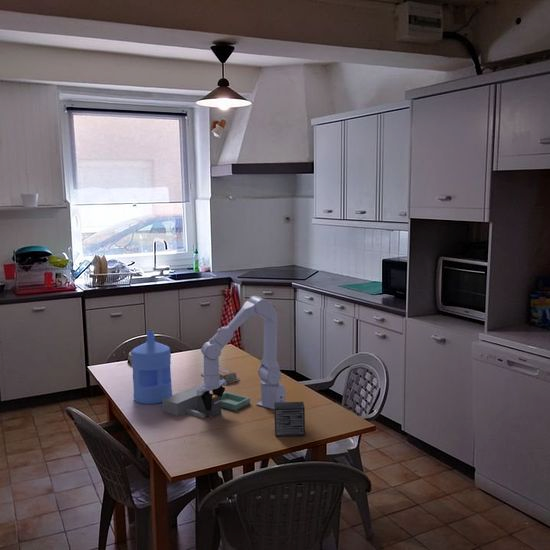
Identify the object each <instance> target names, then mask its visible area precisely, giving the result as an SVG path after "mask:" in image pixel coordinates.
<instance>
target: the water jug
mask: <svg viewBox="0 0 550 550" xmlns="http://www.w3.org/2000/svg"><path fill="white" fill-rule="evenodd" d="M131 351H132V365H133V366H132V381H133V386H132V387H133V400H134V401H135V402H136V403H139V404H142V405H143V404H144V405H156V404H161V403H162V404H163V399H164V398H167V397H170V396H172V395H173V389H172V374H171V373H172V372H171V365H172V363H171V357H172V355H171V354H172V353H171V348H170V346H168V345H166V344H165V343H164V344H163V343H160V342H157V341H156V340H155V331H153V330H151V331H146V342H144V343H142V344H140V345H138V346H136V347H134V348H133V349H132V350H131Z"/></svg>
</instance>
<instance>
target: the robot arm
mask: <svg viewBox="0 0 550 550" xmlns="http://www.w3.org/2000/svg"><path fill="white" fill-rule="evenodd" d="M273 305H274V304H273V303H272V302H271V301H270V300H268V299H266V298H264V297H263V298H262V297H261V296H259V295H252V296H250V297H249V298H248V300H246V301H245V302H244V303H243V305H242V306H241V308H240V309H239V311H238V312H237V313H236V315H234V317H233V318H232V319H231V320H230V322H229V323H228V324H227V325H226V326H221V328H220V327H218V329H217V330H216V333H215V334H214V335H213V336H212V337H211V338H209V339H208V341H206V342H204V343H203V344H202V347H201V349H200V352H201V354H202V355H203V373H204V377H203V381H204V382H203V383H202V385H201V386H200V387H199V389H197V395H200V397H201V398H202V400H203V403H204V406H205V410H208V411H210V410H211V400H212V396H213V394H214V395H218V396H221V398H222V395H223V393H225V392H226V387H224V386H226V385H227V384H226V380H224V379H222V380H219V366H220V362H219V361H220V360H219V358H220V356H221V354H222V350H223V349H224V348H225V346H227V345H228V343H229V342H230V341H231V340H232V339H233V338H234V332H235V331H237V329H238V328H239V327H240V326H241V325H242V324H243V323H245V321H247V320H248V319H249V318H255V317H258V315H259V316H260V318H262V319H263V347H262V348H263V350H262V351H263V352H262V353H263V355H262V359H261V361H260V365H259V367H258V371H257V374H258V377H260V401H259V402H256V405H257V406H259V407H260V406H261V407H264V408H266V409H267V408H268V409H271V410H274V403H276V402H286V387H285V386H284V385H282V384H281V383H280V382H281V380H282V372H281V370H280V369H281V368H280V363H279V362H278V359H277V358H278V355H277V353H278V329H279V327H278V323H279V321H278V320H279V319H278V318H279V317H278V313H277V311H276V309H275V307H274V306H273ZM209 391H211V392H212V393H211V394H210V392H209Z"/></svg>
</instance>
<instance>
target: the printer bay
mask: <svg viewBox="0 0 550 550" xmlns="http://www.w3.org/2000/svg"><path fill="white" fill-rule="evenodd" d="M199 388H200V387H199V386H193V387H190V388H187V389H185V390H182V391H179V392H177V393H175V394H172V396H170V397H167V398H164V399H163V402H162V412H163V411H164V412H163V413H166V412H167V413H166V414H169V413H170V415H172V414H173V416H176V417H178V416H181V415H183V414H189V415H191V416H194V417H198V418H202V419H205V418H206V416H207V415H205V413H202V412H199V411H198V410H196V408H197V409H198V399H197V389H199ZM209 392H210V391H209Z"/></svg>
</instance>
